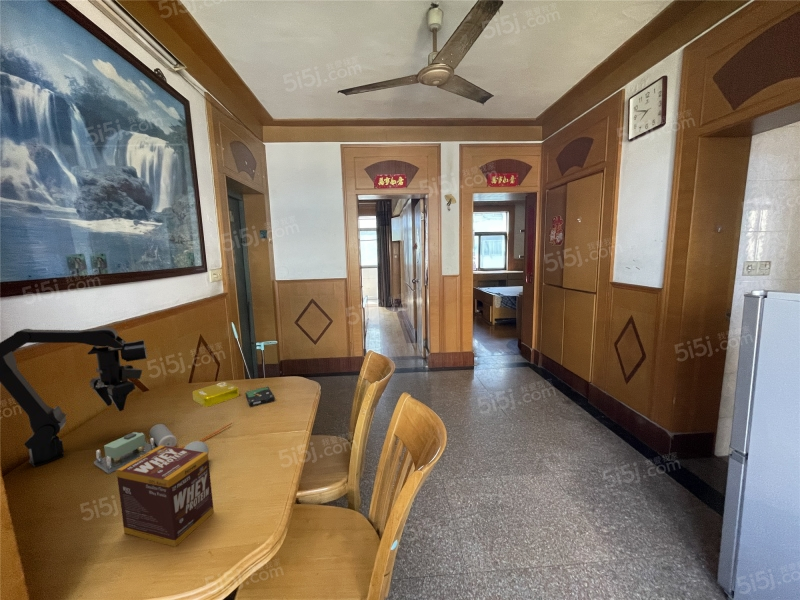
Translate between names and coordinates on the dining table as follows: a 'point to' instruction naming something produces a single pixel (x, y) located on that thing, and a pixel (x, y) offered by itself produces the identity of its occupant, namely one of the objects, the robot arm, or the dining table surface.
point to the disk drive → (259, 396)
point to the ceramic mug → (197, 446)
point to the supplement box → (165, 494)
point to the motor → (170, 436)
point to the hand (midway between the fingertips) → (115, 408)
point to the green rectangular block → (124, 445)
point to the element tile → (215, 394)
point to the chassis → (122, 458)
